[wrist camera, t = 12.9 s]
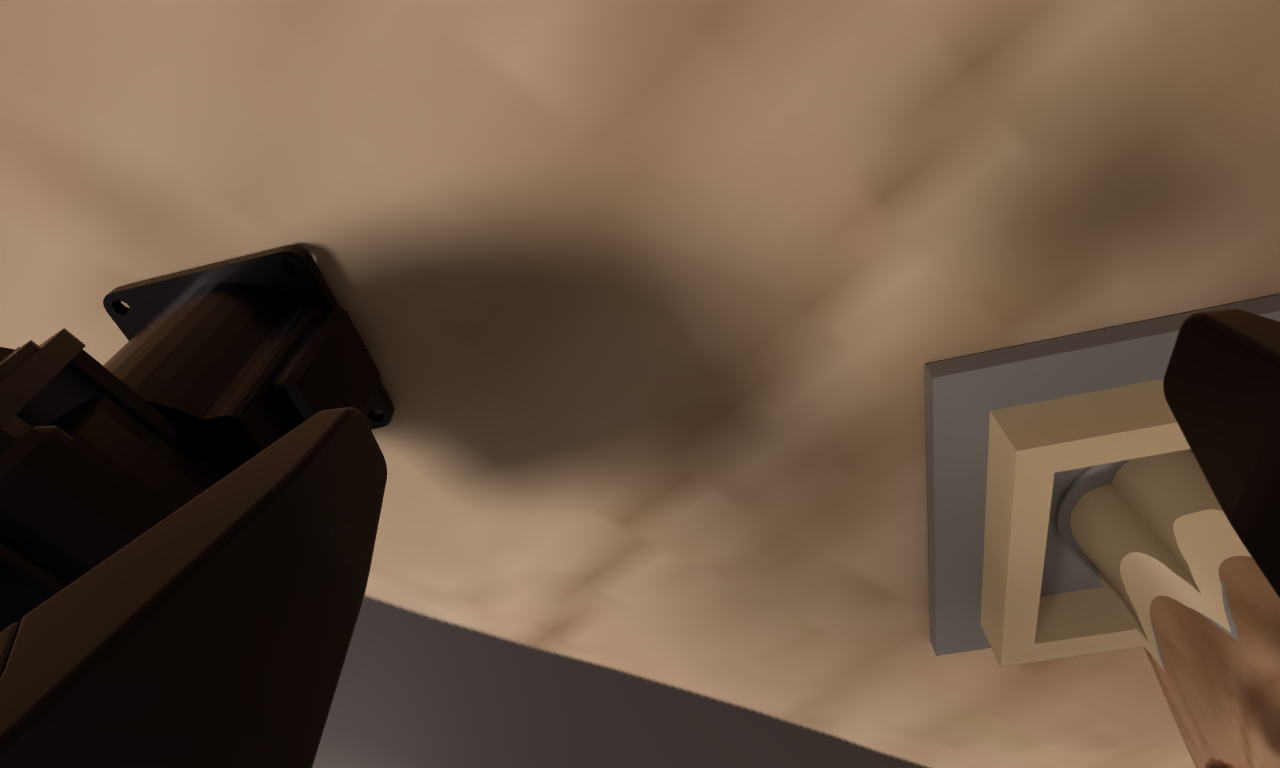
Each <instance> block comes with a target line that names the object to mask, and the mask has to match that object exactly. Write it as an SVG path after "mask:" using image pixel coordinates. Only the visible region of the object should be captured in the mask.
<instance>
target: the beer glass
mask: <svg viewBox="0 0 1280 768" xmlns="http://www.w3.org/2000/svg"><path fill="white" fill-rule="evenodd" d="M1057 527H1058V531H1059V534H1060V537H1061V539H1062V540H1063V542H1064V543H1065V545H1066V546H1067V547H1068V549H1069V550H1070V551H1071V552H1072V553H1073V554H1074V555H1075V556H1076V557H1077V558H1078V559H1079V560H1080V562H1081V563H1082V564H1083V565H1084V566H1085V567H1086V568H1087V569H1088V570H1089V571H1090V572H1091V573H1092V574H1093V575H1094V576H1095V577H1096V578H1097V579H1098V580H1099V581H1100V582H1101V583H1102V584H1103V585H1104V586H1105V587H1106V589H1107V590H1108V591H1109V592H1110V593H1111V594H1112V596H1113V597H1114V598H1115V600H1116V601H1117V602H1118V604H1119V605H1120V607H1121V608H1122V609H1123V611H1124V612H1125V614H1126V616H1127V617H1128V619H1129V621H1130V622H1131V624H1132V626H1133V628H1134V629H1135V631H1136V633H1137V634H1138V637H1139V639H1140V641H1141V643H1142V645H1143V648H1144V650H1145V652H1146V654H1147V656H1148V659H1149V661H1150V663H1151V665H1152V667H1153V670H1154V672H1155V675H1156V677H1157V679H1158V682H1159V684H1160V686H1161V689H1162V691H1163V694H1164V696H1165V698H1166V701H1167V703H1168V706H1169V708H1170V710H1171V713H1172V715H1173V717H1174V719H1175V722H1176V724H1177V726H1178V729H1179V731H1180V733H1181V736H1182V738H1183V740H1184V743H1185V745H1186V747H1187V749H1188V752H1189V754H1190V756H1191V758H1192V760H1193V762H1194V764H1195V766H1196V768H1280V598H1279V597H1278V595H1277V594H1276V592H1275V591H1274V589H1273V588H1272V586H1271V585H1270V584H1269V582H1268V581H1267V579H1266V578H1265V576H1264V575H1263V573H1262V572H1261V570H1260V569H1259V567H1258V566H1257V564H1256V563H1255V561H1254V560H1253V558H1252V557H1251V555H1250V554H1249V552H1248V551H1247V549H1246V548H1245V546H1244V545H1243V543H1242V542H1241V540H1240V538H1239V537H1238V535H1237V534H1236V532H1235V530H1234V529H1233V527H1232V526H1231V524H1230V522H1229V521H1228V519H1227V517H1226V515H1225V514H1224V512H1223V510H1222V508H1221V507H1220V505H1219V503H1218V501H1217V499H1216V497H1215V495H1214V493H1213V491H1212V489H1211V488H1210V486H1209V484H1208V482H1207V480H1206V478H1205V476H1204V474H1203V472H1202V470H1201V468H1200V466H1199V464H1198V462H1197V460H1196V458H1195V456H1194V454H1193V452H1192V450H1191V449H1187V450H1181V451H1175V452H1170V453H1164V454H1158V455H1153V456H1147V457H1141V458H1135V459H1130V460H1124V461H1118V462H1112V463H1107V464H1101V465H1095V466H1091V467H1090V468H1089V469H1087V470H1086V471H1085V472H1084V473H1083V474H1082V475H1081V476H1079V477H1078V478H1077V480H1076V481H1075V482H1074V483H1073V484H1072V485H1071V487H1070V488H1069V489H1068V491H1067V492H1066V494H1065V495H1064V497H1063V499H1062V501H1061V503H1060V506H1059V509H1058V513H1057Z"/></svg>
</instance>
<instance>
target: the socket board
mask: <svg viewBox="0 0 1280 768" xmlns="http://www.w3.org/2000/svg"><path fill="white" fill-rule="evenodd" d="M1223 309H1240V310H1244V311H1247V312H1250V313H1253V314H1257V315H1260V316H1263V317H1266V318H1269V319H1273V320H1276V321H1279V322H1280V294H1278V295H1273V296H1268V297H1263V298H1258V299H1253V300H1248V301H1242V302H1237V303H1232V304H1227V305H1222V306H1217V307H1212V308H1207V309H1202V310H1197V311H1192V312H1187V313H1182V314H1176V315H1171V316H1166V317H1161V318H1156V319H1151V320H1146V321H1141V322H1136V323H1131V324H1126V325H1121V326H1116V327H1110V328H1105V329H1100V330H1095V331H1090V332H1085V333H1080V334H1075V335H1070V336H1065V337H1060V338H1055V339H1049V340H1044V341H1039V342H1034V343H1029V344H1024V345H1019V346H1014V347H1009V348H1004V349H999V350H994V351H989V352H983V353H978V354H973V355H968V356H963V357H958V358H953V359H948V360H943V361H938V362H933V363H928V364H925V408H926V458H927V509H928V559H929V609H930V641H931V643H932V646H933V648H934V651H935V653H936V656H937V655H944V654H951V653H958V652H965V651H971V650H978V649H985V648H992V650H993V652H994V654H995V656H996V658H997V660H998V663H999V665H1000V667H1004V666H1011V665H1018V664H1025V663H1032V662H1039V661H1046V660H1053V659H1060V658H1067V657H1074V656H1081V655H1088V654H1095V653H1102V652H1109V651H1116V650H1123V649H1130V648H1137V647H1143V645H1142V643H1141V641H1140V639H1139V637H1138V634H1137V633H1136V631H1135V629H1134V628H1133V626H1132V624H1131V622H1130V621H1129V619H1128V617H1127V616H1126V614H1125V612H1124V611H1123V609H1122V608H1121V607H1120V605H1119V604H1118V602H1117V601H1116V600H1115V598H1114V597H1113V596H1112V594H1111V593H1110V592H1109V591H1108V590H1107V589H1106V587H1105V586H1104V585H1103V584H1102V583H1101V582H1100V581H1099V580H1098V579H1097V578H1096V577H1095V576H1094V575H1093V574H1092V573H1091V572H1090V571H1089V570H1088V569H1087V568H1086V567H1085V566H1084V565H1083V564H1082V563H1081V562H1080V560H1079V559H1078V558H1077V557H1076V556H1075V555H1074V554H1073V553H1072V552H1071V551H1070V550H1069V549H1068V547H1067V546H1066V545H1065V543H1064V542H1063V540H1062V539H1061V537H1060V534H1059V531H1058V527H1057V513H1058V509H1059V506H1060V503H1061V501H1062V499H1063V497H1064V495H1065V494H1066V492H1067V491H1068V489H1069V488H1070V487H1071V485H1072V484H1073V483H1074V482H1075V481H1076V480H1077V478H1078V477H1079V476H1081V475H1082V474H1083V473H1084V472H1085V471H1086V470H1087V469H1089V468H1090V467H1091V466H1095V465H1101V464H1107V463H1112V462H1118V461H1124V460H1130V459H1135V458H1141V457H1147V456H1153V455H1158V454H1164V453H1170V452H1175V451H1181V450H1187V449H1190V447H1189V445H1188V443H1187V441H1186V439H1185V437H1184V435H1183V433H1182V431H1181V429H1180V427H1179V425H1178V423H1177V421H1176V419H1175V417H1174V415H1173V413H1172V411H1171V409H1170V408H1169V406H1168V404H1167V401H1166V399H1165V395H1164V390H1163V381H1164V375H1165V372H1166V369H1167V366H1168V363H1169V360H1170V357H1171V354H1172V351H1173V348H1174V345H1175V342H1176V339H1177V336H1178V333H1179V330H1180V327H1181V325H1182V323H1183V322H1184V320H1185V319H1186V318H1187V317H1188V316H1190V315H1192V314H1194V313H1197V312H1206V311H1215V310H1223Z"/></svg>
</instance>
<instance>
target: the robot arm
mask: <svg viewBox="0 0 1280 768" xmlns="http://www.w3.org/2000/svg"><path fill="white" fill-rule="evenodd" d="M287 259H292V260H294V261H296V262H297V263H298V264H299V265H300V269H295V268H293V267H291V265H290V264H289V263H288V260H287ZM120 300H121V301H123V302H125V303H127V304H128V305H129V306H130V308H127V307H125V306H124V305H123V304H122V303H121V301H120ZM103 304H104V307H105V309H106V311H107V313H108V314H109V315H110V316H111V318H112V319H113V320H114V322H115V323H116V324H117V326H118V327H119V328H120V330H121V331H122V332H123V334H124V335H125V336H126V337H127V339H128V340H129V342H128V343H127V344H126V345H125V346H124V347H123V348H122V349H121V350H119V351H118V352H117V353H116V354H115V355H114V356H113V357H112V358H111V359H110V360H109V361H108V362H107V363H106V364H104V365H101V364H100V363H99V362H98V361H96V360H95V359H94V358H93V357H91V356H90V355H89V354H88V353H87V352H85V351H84V350H83V348H84V347H85V346H86V345H84V344H83V343H82V342H81V341H80V340H78V339H77V338H76V337H75V336H73V335H72V334H71V333H70V332H68V331H67V330H66V329H65V328H64V329H62V330H61V331H59V332H58V333H57V334H55V335H54V336H52V337H51V338H49V339H48V340H47V341H45V342H44V343H42V344H41V345H39V346H38V345H37V344H35V343H34V342H33V341H32V340H31V341H29V342H28V343H26V344H25V345H23V346H22V347H18V348H17V349H16V350H14V349H9V348H3V347H0V768H312V766H313V763H314V760H315V756H316V753H317V750H318V746H319V743H320V740H321V737H322V733H323V730H324V727H325V724H326V720H327V717H328V714H329V710H330V707H331V704H332V701H333V697H334V694H335V691H336V687H337V684H338V681H339V677H340V674H341V671H342V668H343V664H344V661H345V658H346V655H347V651H348V648H349V645H350V641H351V638H352V635H353V631H354V628H355V625H356V622H357V618H358V615H359V612H360V608H361V605H362V601H363V598H364V594H365V590H366V586H367V581H368V577H369V572H370V567H371V561H372V556H373V550H374V545H375V540H376V534H377V529H378V523H379V518H380V513H381V507H382V502H383V496H384V491H385V485H386V480H387V466H386V462H385V458H384V456H383V454H382V452H381V450H380V448H379V445H378V443H377V441H376V439H375V437H374V435H373V433H372V431H371V429H375V428H380V427H384V426H386V425H388V424H389V423H390V422H391V419H392V417H393V415H394V411H395V409H394V406H393V404H392V402H391V400H390V398H389V396H388V395H387V393H386V391H385V389H384V387H383V385H382V384H381V382H380V380H379V378H380V372H379V370H378V369H377V367H376V365H375V363H374V361H373V359H372V358H371V356H370V354H369V352H368V350H367V348H366V347H365V345H364V343H363V341H362V339H361V337H360V336H359V334H358V332H357V330H356V328H355V326H354V325H353V323H352V321H351V319H350V317H349V315H348V314H347V312H346V311H345V310H344V309H342V308H341V307H339V305H338V303H337V302H336V300H335V298H334V296H333V294H332V292H331V291H330V289H329V287H328V285H327V283H326V282H325V280H324V278H323V276H322V274H321V272H320V271H319V269H318V267H317V265H316V263H315V261H314V260H313V258H312V256H311V255H310V254H309V253H308V251H306V250H305V249H303V248H302V247H299V246H295V245H289V246H284V247H280V248H276V249H272V250H267V251H263V252H259V253H255V254H251V255H247V256H243V257H239V258H235V259H231V260H226V261H222V262H218V263H214V264H210V265H206V266H202V267H198V268H194V269H190V270H186V271H181V272H177V273H173V274H169V275H165V276H161V277H157V278H153V279H149V280H145V281H141V282H136V283H132V284H128V285H124V286H120V287H117V288H115V289H114V290H112V291H111V292H110V293H109V294H107V295H106V296H105V298H104V300H103ZM1163 390H1164V395H1165V399H1166V401H1167V404H1168V406H1169V408H1170V409H1171V411H1172V413H1173V415H1174V417H1175V419H1176V421H1177V423H1178V425H1179V427H1180V429H1181V431H1182V433H1183V435H1184V437H1185V439H1186V441H1187V443H1188V445H1189V447H1190V449H1191V450H1192V452H1193V454H1194V456H1195V458H1196V460H1197V462H1198V464H1199V466H1200V468H1201V470H1202V472H1203V474H1204V476H1205V478H1206V480H1207V482H1208V484H1209V486H1210V488H1211V489H1212V491H1213V493H1214V495H1215V497H1216V499H1217V501H1218V503H1219V505H1220V507H1221V508H1222V510H1223V512H1224V514H1225V515H1226V517H1227V519H1228V521H1229V522H1230V524H1231V526H1232V527H1233V529H1234V530H1235V532H1236V534H1237V535H1238V537H1239V538H1240V540H1241V542H1242V543H1243V545H1244V546H1245V548H1246V549H1247V551H1248V552H1249V554H1250V555H1251V557H1252V558H1253V560H1254V561H1255V563H1256V564H1257V566H1258V567H1259V569H1260V570H1261V572H1262V573H1263V575H1264V576H1265V578H1266V579H1267V581H1268V582H1269V584H1270V585H1271V586H1272V588H1273V589H1274V591H1275V592H1276V594H1277V595H1278V597H1279V598H1280V322H1279V321H1276V320H1273V319H1269V318H1266V317H1263V316H1260V315H1257V314H1253V313H1250V312H1247V311H1244V310H1240V309H1223V310H1215V311H1206V312H1197V313H1194V314H1192V315H1190V316H1188V317H1187V318H1186V319H1185V320H1184V322H1183V323H1182V325H1181V327H1180V330H1179V333H1178V336H1177V339H1176V342H1175V345H1174V348H1173V351H1172V354H1171V357H1170V360H1169V363H1168V366H1167V369H1166V372H1165V375H1164V381H1163ZM372 409H377V410H379V411H381V412H382V413H383V414H378V413H375V412H374V411H373V410H372Z"/></svg>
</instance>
